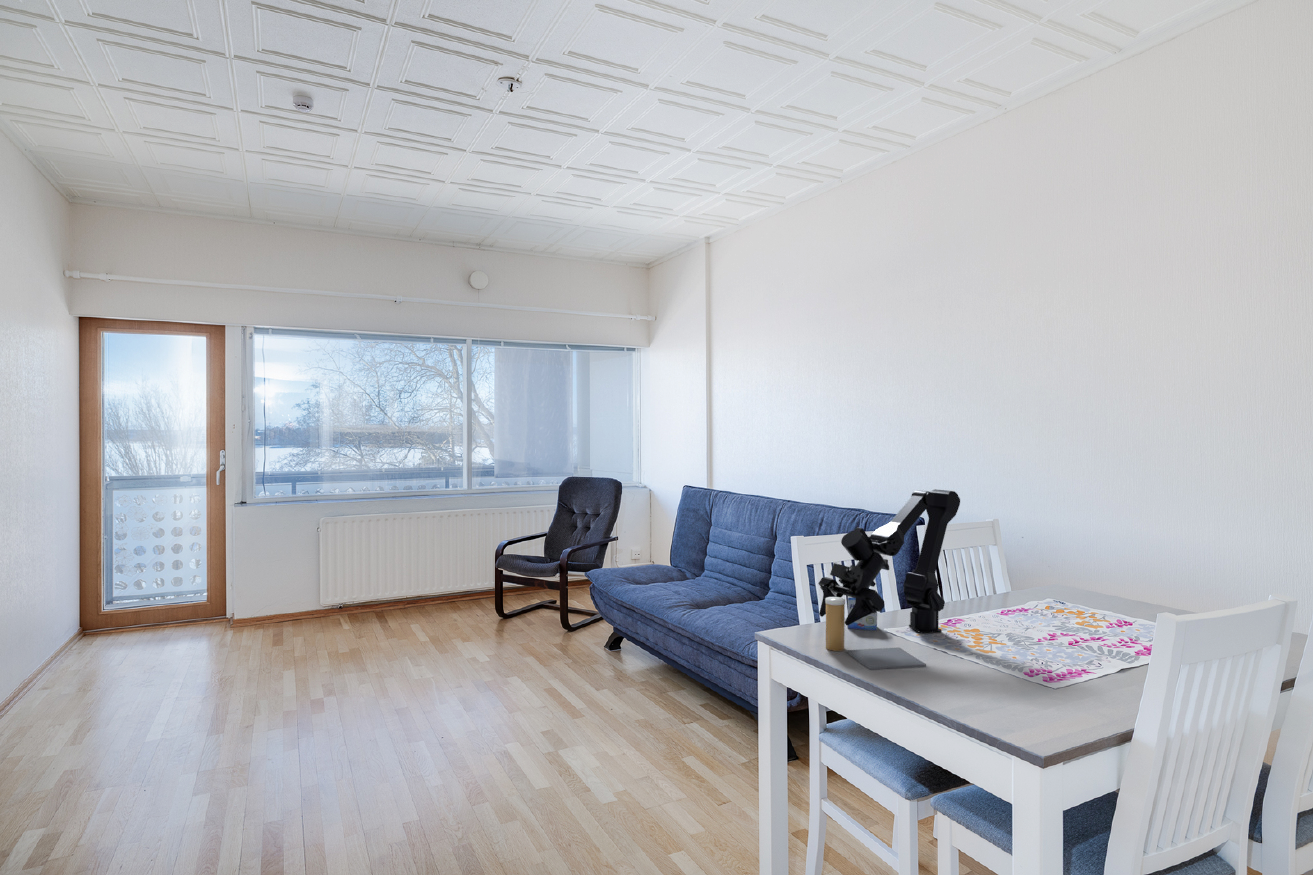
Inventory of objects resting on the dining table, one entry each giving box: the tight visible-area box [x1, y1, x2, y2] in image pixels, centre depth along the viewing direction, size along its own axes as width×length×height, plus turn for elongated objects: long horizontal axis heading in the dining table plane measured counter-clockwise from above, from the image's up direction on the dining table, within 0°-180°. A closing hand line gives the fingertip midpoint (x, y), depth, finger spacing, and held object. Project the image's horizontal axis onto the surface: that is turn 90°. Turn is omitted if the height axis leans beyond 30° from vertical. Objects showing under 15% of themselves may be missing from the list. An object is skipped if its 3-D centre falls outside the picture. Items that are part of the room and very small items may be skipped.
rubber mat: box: [845, 646, 927, 671], centre depth 174 cm, size 14×13×1 cm
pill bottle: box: [825, 597, 846, 652], centre depth 183 cm, size 5×5×12 cm
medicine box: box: [847, 596, 878, 631], centre depth 201 cm, size 8×4×9 cm, turn 73°
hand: (832, 619), depth 182 cm, fingers open, 9 cm apart
